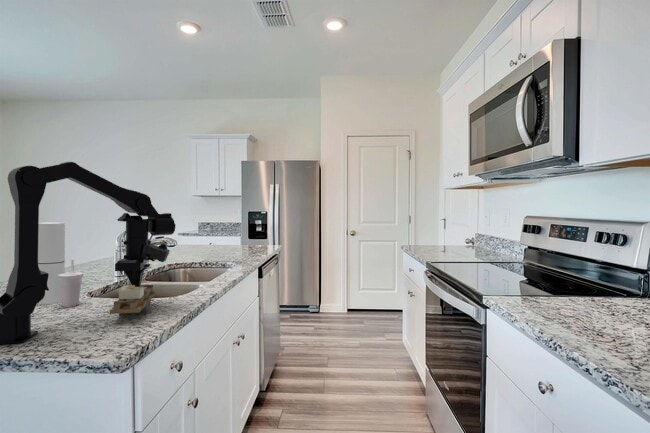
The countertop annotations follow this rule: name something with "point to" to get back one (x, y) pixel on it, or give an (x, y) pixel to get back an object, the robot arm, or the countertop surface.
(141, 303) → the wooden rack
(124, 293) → the block
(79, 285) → the smoothie
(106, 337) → the countertop surface
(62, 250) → the cylindrical container
